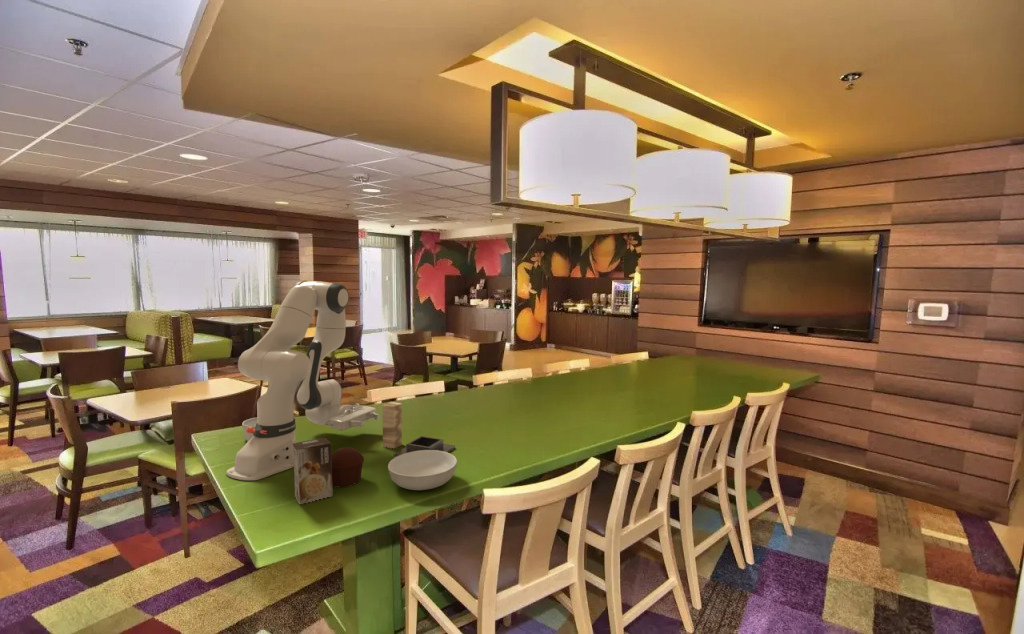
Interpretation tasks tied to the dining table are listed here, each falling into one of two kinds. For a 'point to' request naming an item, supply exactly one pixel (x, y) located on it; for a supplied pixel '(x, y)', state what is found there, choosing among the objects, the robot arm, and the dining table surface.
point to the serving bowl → (422, 469)
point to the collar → (425, 445)
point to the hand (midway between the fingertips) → (370, 420)
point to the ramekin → (249, 423)
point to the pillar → (392, 424)
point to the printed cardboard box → (312, 470)
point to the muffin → (346, 466)
